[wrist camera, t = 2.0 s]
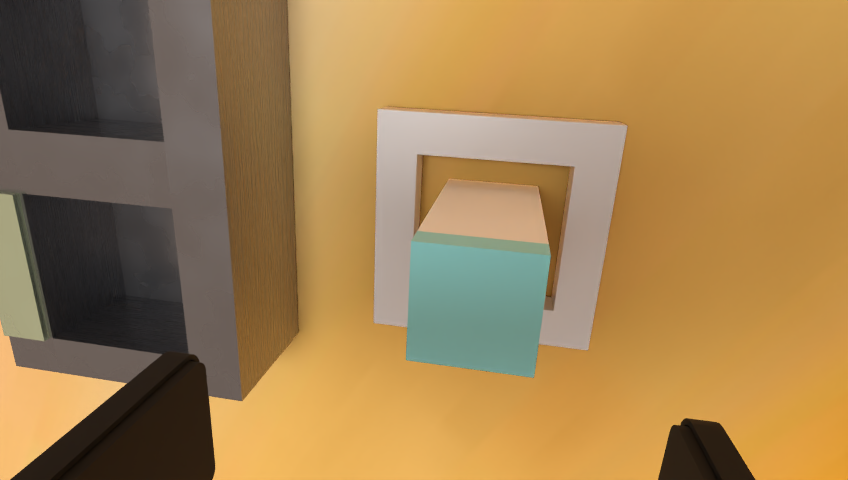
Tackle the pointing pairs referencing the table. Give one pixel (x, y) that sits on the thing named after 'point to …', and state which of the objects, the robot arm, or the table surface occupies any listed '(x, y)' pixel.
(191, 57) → the port block
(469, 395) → the table surface
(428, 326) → the plug
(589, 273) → the white square frame
